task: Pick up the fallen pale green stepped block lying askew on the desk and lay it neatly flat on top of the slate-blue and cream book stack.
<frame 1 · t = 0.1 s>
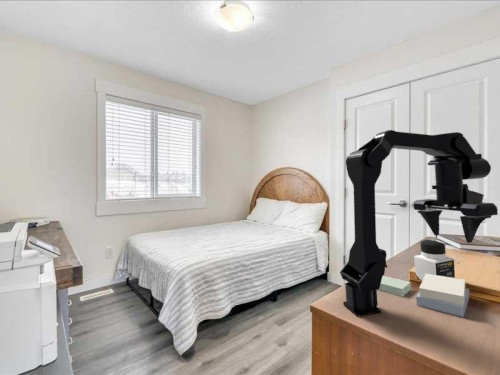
hand: (452, 238, 67), 15 cm above the table, tool pointing down, fingers open, 9 cm apart
pale green stepped block: (388, 289, 73), on the table
book stack: (443, 301, 63), on the table
medicine bottle: (434, 280, 76), on the table
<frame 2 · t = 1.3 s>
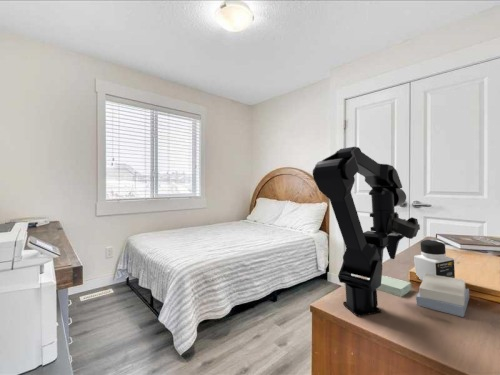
hand: (386, 262, 73), 7 cm above the table, tool pointing down, fingers open, 9 cm apart
nothing on the table moved.
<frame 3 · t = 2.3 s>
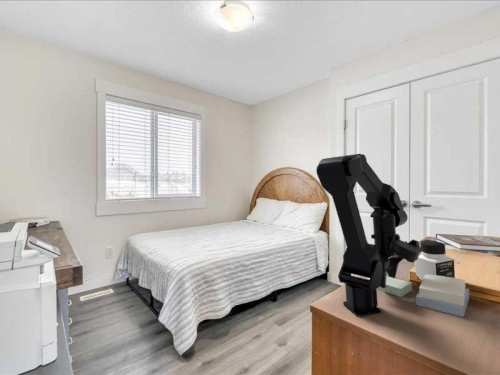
hand: (387, 284, 73), 1 cm above the table, tool pointing down, fingers closed on pale green stepped block, 6 cm apart
pale green stepped block: (388, 289, 73), on the table, touching gripper
everything else where it was.
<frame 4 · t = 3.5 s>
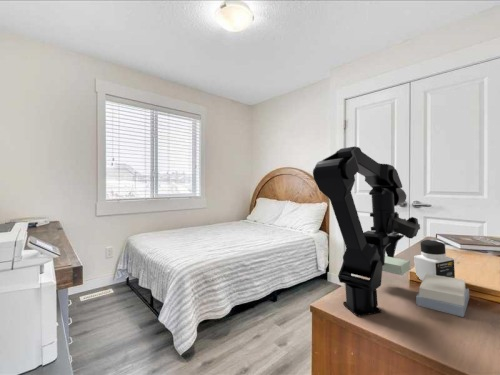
hand: (386, 262, 73), 7 cm above the table, tool pointing down, fingers closed on pale green stepped block, 6 cm apart
pale green stepped block: (387, 268, 73), point 6 cm above the table, touching gripper
everything else where it was.
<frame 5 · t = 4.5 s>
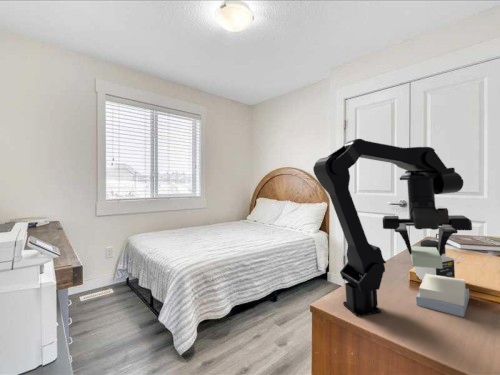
hand: (425, 254, 66), 11 cm above the table, tool pointing down, fingers closed on pale green stepped block, 6 cm apart
pale green stepped block: (425, 261, 66), point 10 cm above the table, touching gripper
everything else where it was.
when the fingers open (7 cm above the table, at t = 5.9 s): pale green stepped block stays where it is, resting on book stack.
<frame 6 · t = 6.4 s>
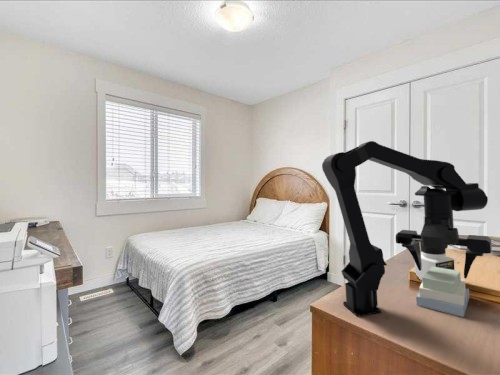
hand: (441, 273, 63), 7 cm above the table, tool pointing down, fingers open, 9 cm apart
pale green stepped block: (442, 283, 63), point 4 cm above the table, touching book stack
everything else where it was.
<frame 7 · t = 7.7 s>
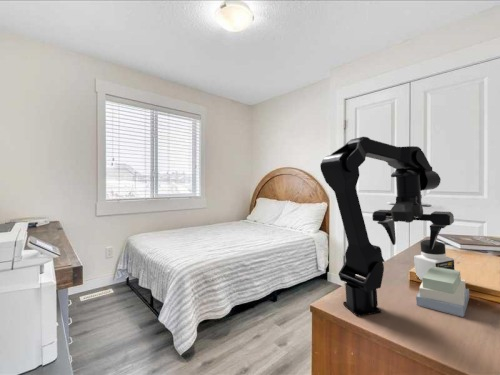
hand: (411, 246, 71), 12 cm above the table, tool pointing down, fingers open, 9 cm apart
nothing on the table moved.
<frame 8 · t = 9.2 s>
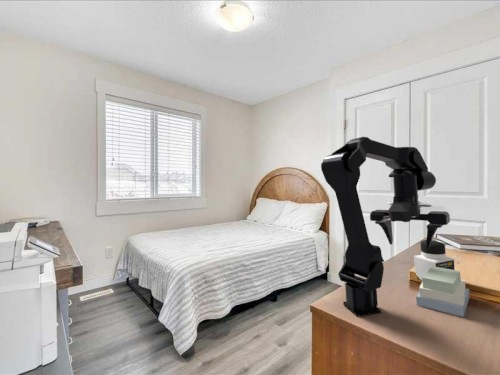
hand: (408, 246, 72), 12 cm above the table, tool pointing down, fingers open, 9 cm apart
nothing on the table moved.
at the end: pale green stepped block 0.0 cm off-centre on the book stack, point 4.4 cm above the book stack's base; pale green stepped block tilted 0°; the gripper is holding nothing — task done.
